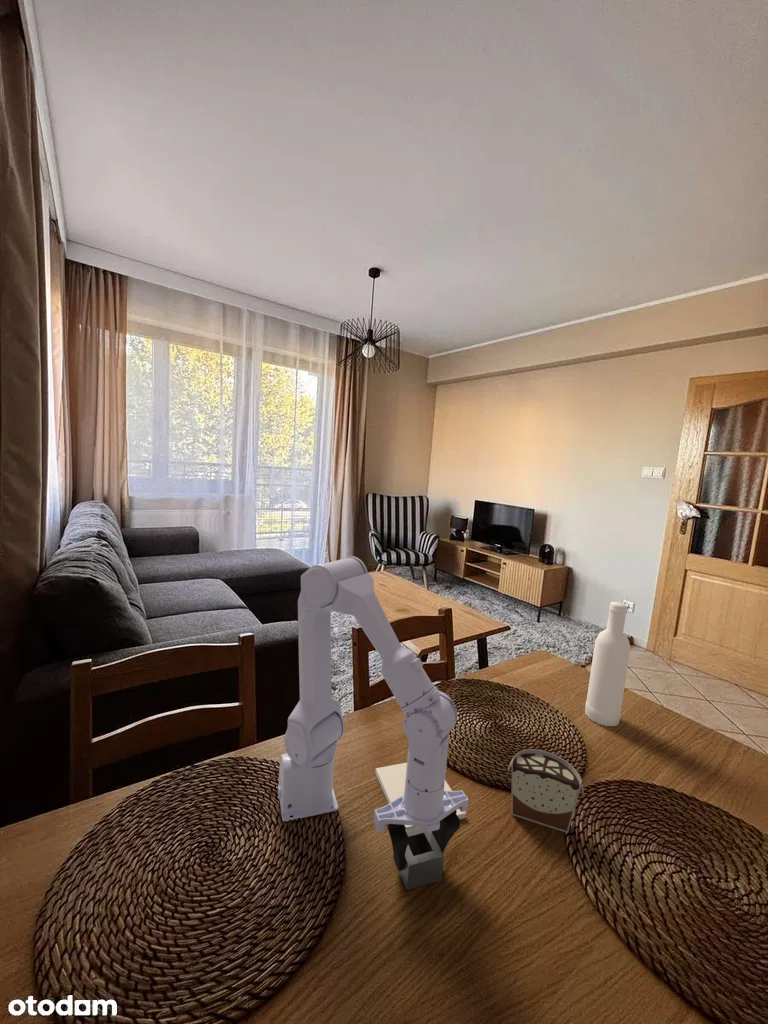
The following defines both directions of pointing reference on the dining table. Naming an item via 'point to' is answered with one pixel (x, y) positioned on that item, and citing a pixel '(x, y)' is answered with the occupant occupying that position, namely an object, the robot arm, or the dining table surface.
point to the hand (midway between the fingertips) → (417, 859)
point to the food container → (544, 788)
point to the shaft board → (400, 784)
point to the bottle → (609, 670)
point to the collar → (421, 859)
